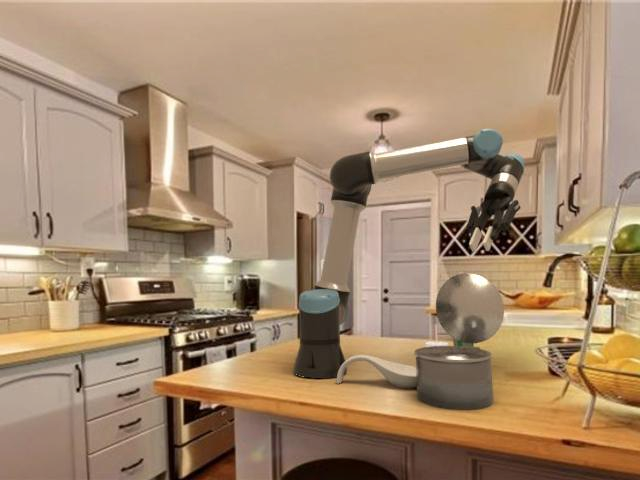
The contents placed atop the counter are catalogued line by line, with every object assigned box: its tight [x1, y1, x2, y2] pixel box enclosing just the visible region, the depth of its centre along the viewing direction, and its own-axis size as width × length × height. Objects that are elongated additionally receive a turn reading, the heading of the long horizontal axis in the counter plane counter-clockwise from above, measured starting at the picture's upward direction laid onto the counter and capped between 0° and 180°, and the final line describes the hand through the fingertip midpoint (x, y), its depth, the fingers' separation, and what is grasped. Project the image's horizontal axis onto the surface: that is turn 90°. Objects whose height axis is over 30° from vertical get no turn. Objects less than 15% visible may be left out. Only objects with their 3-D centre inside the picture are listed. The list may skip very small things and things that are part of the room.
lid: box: [435, 272, 505, 344], centre depth 99 cm, size 17×17×3 cm
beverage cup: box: [424, 323, 450, 347], centre depth 110 cm, size 6×6×14 cm
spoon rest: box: [336, 354, 417, 389], centre depth 104 cm, size 24×12×7 cm, turn 79°
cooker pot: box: [414, 345, 494, 411], centre depth 92 cm, size 18×16×10 cm
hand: (478, 247), depth 105 cm, fingers open, 3 cm apart
